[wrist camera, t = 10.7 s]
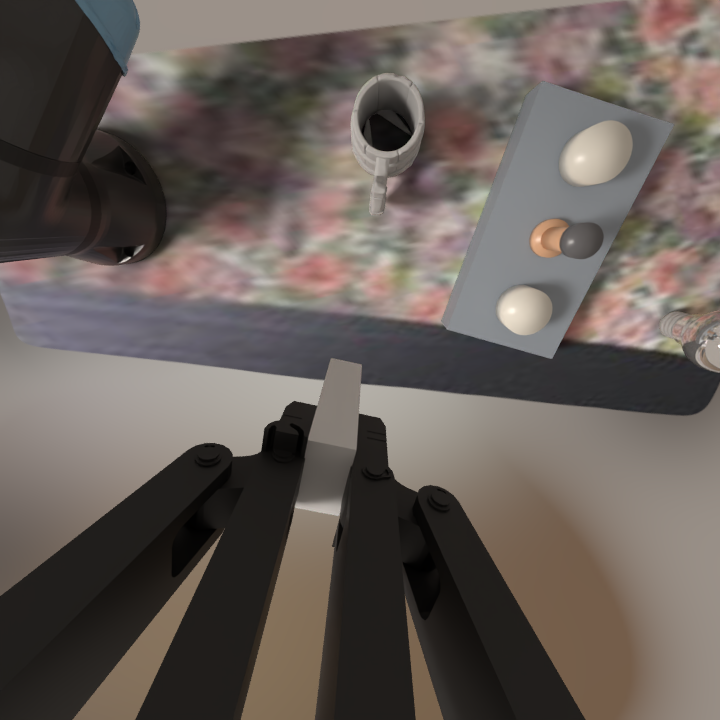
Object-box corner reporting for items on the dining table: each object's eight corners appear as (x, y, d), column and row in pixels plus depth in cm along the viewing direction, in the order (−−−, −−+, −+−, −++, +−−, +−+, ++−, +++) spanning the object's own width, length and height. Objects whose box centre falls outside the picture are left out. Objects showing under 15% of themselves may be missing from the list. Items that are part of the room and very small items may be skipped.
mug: (425, 105, 38) (445, 55, 27) (407, 220, 42) (417, 219, 31) (356, 96, 38) (347, 42, 27) (345, 212, 42) (333, 208, 31)
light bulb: (646, 355, 47) (730, 396, 36) (629, 313, 45) (712, 342, 34) (700, 329, 45) (806, 363, 34) (685, 284, 43) (792, 304, 32)
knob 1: (479, 313, 46) (496, 328, 39) (495, 274, 44) (516, 283, 37) (516, 324, 46) (539, 340, 39) (533, 286, 44) (560, 296, 37)
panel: (441, 321, 46) (446, 329, 43) (525, 95, 37) (542, 80, 33) (538, 348, 47) (551, 358, 44) (645, 134, 38) (674, 124, 34)
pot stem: (523, 251, 39) (554, 257, 32) (539, 214, 38) (575, 212, 31) (556, 261, 39) (594, 268, 32) (573, 224, 38) (616, 224, 31)
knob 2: (533, 183, 40) (564, 174, 33) (554, 132, 38) (591, 112, 31) (575, 196, 40) (613, 190, 34) (598, 146, 38) (644, 129, 32)
